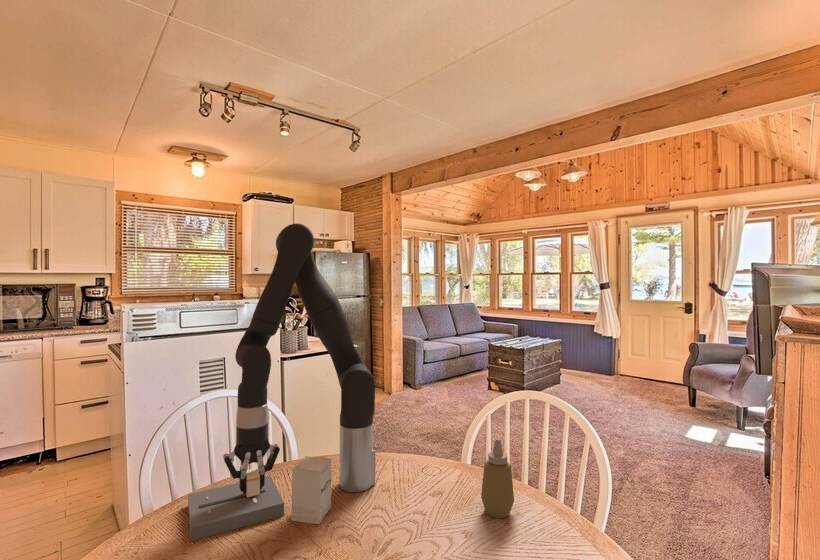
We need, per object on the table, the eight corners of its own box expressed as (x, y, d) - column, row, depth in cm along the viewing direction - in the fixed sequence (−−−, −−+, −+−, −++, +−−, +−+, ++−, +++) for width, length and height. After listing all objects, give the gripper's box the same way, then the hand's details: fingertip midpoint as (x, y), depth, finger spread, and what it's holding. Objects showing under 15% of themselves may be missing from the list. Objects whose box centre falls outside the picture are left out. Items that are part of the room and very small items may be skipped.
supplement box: (319, 525, 95) (320, 471, 95) (290, 521, 97) (291, 468, 96) (332, 507, 102) (332, 457, 102) (304, 504, 104) (305, 454, 104)
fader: (256, 487, 105) (257, 467, 105) (259, 494, 102) (260, 474, 102) (244, 490, 104) (244, 470, 104) (246, 497, 100) (246, 477, 100)
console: (270, 485, 113) (270, 474, 113) (284, 515, 99) (284, 501, 99) (188, 506, 103) (188, 493, 103) (190, 541, 89) (190, 527, 89)
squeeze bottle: (520, 511, 101) (520, 439, 101) (503, 526, 95) (504, 449, 95) (491, 499, 106) (492, 431, 106) (474, 512, 101) (475, 439, 101)
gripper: (277, 413, 109) (277, 477, 110) (220, 422, 102) (219, 490, 102) (284, 421, 103) (283, 489, 103) (223, 431, 96) (223, 504, 96)
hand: (251, 489), depth 103 cm, fingers closed on fader, 3 cm apart
